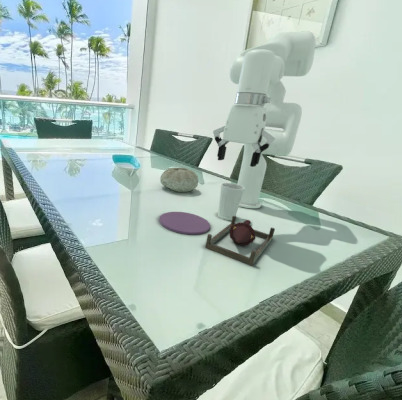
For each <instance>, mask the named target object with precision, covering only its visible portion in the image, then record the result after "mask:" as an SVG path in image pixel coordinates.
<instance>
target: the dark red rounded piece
mask: <svg viewBox="0 0 402 400" xmlns="http://www.w3.org/2000/svg"><path fill="white" fill-rule="evenodd" d="M251 223H252V222H251V220H250V219H246V220H244V221H243V222H237V223H235V224H234V225H232V226H231V228H230V229H229V238H230V240H232V241H233V242H234V243H235V244H236V245H240V246H245V247H246V246H249V245H250V244H252V243H254V241H255V240H256V236H255V232H254V230H255V229H254V228H253V226H252V225H251Z"/></svg>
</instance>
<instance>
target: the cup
mask: <svg viewBox="0 0 402 400" xmlns="http://www.w3.org/2000/svg"><path fill="white" fill-rule="evenodd" d="M244 189H245V188H244V187H243V186H241V185H238V184H237V183H233V182H222V183H221V185H220V194H219V202H218V212H217V217H218V218H220V219H222V220H226V221H232V217H233V216H236V217H237V213H238V209H239V207H240V206H239V204H240V201H241V197H242V195H243V192H244Z"/></svg>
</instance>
